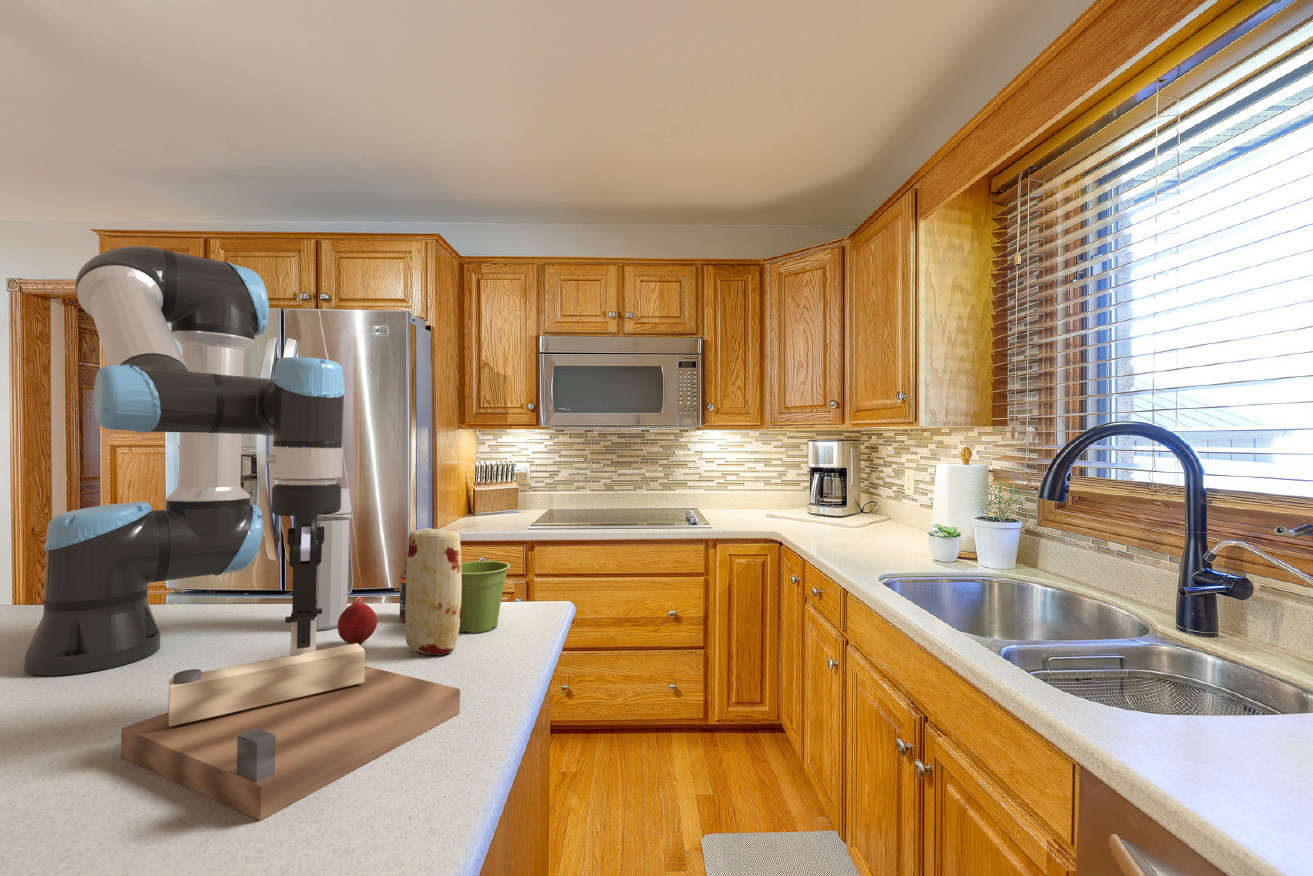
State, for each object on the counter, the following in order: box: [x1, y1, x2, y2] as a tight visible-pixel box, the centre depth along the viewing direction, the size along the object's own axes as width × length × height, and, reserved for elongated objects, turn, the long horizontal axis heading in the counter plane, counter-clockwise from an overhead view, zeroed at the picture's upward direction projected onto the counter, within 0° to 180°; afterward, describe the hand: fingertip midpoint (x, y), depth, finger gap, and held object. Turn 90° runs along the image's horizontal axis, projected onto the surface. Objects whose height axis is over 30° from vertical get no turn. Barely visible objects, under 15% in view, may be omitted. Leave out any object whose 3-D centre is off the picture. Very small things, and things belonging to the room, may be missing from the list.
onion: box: [337, 596, 378, 646], centre depth 98 cm, size 6×6×8 cm
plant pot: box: [459, 560, 511, 634], centre depth 109 cm, size 12×12×11 cm
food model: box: [405, 527, 462, 656], centre depth 96 cm, size 10×7×20 cm
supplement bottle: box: [399, 560, 407, 623], centre depth 114 cm, size 6×6×11 cm
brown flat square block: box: [120, 665, 461, 821], centre depth 68 cm, size 24×24×6 cm
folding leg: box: [167, 643, 366, 727], centre depth 70 cm, size 19×4×5 cm, turn 131°
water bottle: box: [316, 487, 355, 631], centre depth 110 cm, size 9×8×25 cm
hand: (302, 671), depth 74 cm, fingers closed
